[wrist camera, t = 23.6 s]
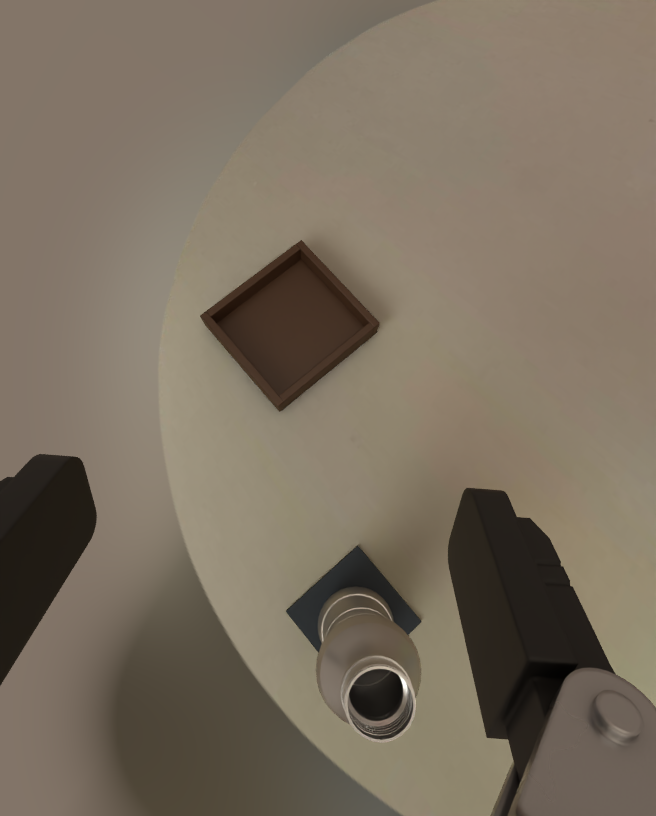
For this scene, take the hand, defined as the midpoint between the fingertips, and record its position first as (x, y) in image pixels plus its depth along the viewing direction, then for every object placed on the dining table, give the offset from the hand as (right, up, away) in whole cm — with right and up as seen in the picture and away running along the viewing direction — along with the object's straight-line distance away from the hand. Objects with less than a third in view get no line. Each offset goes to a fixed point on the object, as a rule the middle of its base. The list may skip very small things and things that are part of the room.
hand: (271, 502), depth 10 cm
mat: (+4, -17, +34) cm, 38 cm away
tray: (-3, +11, +40) cm, 42 cm away
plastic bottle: (+4, -18, +33) cm, 38 cm away
